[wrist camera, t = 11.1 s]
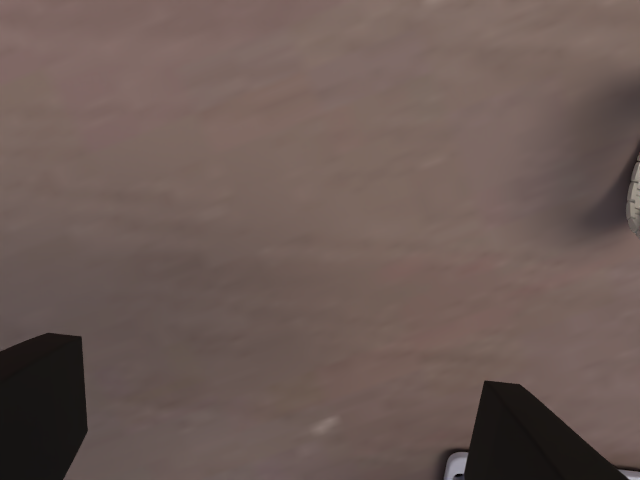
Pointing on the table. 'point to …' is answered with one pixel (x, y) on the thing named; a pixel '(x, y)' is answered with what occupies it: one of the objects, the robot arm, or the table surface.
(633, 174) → the wristwatch
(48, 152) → the table surface
